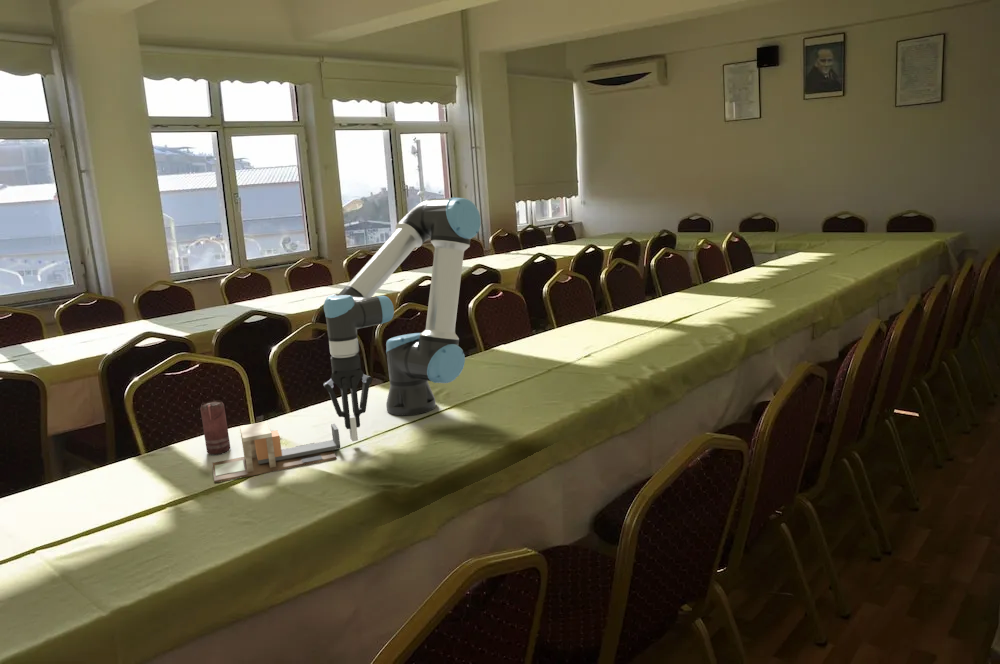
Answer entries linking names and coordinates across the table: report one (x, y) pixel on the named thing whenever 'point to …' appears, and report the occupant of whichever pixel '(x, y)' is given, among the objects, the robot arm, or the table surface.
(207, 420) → the can
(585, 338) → the table surface
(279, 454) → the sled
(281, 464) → the tunnel board
